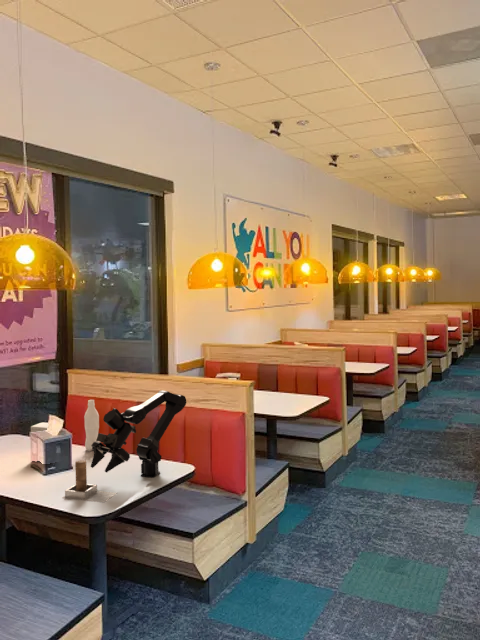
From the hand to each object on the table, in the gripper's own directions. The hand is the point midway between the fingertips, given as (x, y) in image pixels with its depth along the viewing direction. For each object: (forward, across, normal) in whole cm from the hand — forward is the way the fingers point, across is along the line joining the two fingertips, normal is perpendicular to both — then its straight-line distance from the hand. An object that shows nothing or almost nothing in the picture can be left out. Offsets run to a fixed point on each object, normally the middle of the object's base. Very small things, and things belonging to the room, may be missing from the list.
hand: (98, 469), depth 222 cm
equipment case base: (+11, +4, +1) cm, 12 cm away
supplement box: (-1, -56, +14) cm, 58 cm away
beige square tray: (+11, 0, 0) cm, 11 cm away
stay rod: (+11, 0, 0) cm, 11 cm away
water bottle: (-17, -52, +30) cm, 63 cm away
